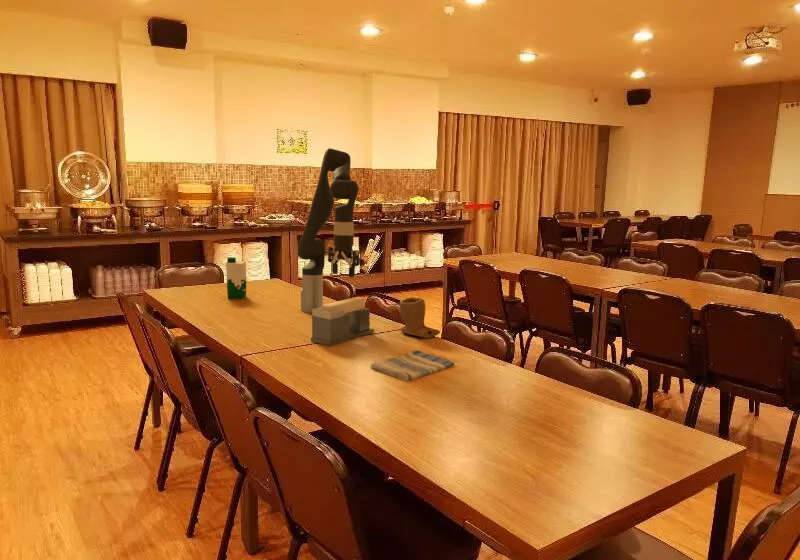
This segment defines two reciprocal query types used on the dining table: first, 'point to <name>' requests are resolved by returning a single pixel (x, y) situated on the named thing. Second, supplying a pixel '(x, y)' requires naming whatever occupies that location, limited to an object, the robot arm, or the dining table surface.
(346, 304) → the rail
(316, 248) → the robot arm
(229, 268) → the milk carton
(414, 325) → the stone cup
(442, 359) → the dish towel
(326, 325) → the stand
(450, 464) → the dining table surface
